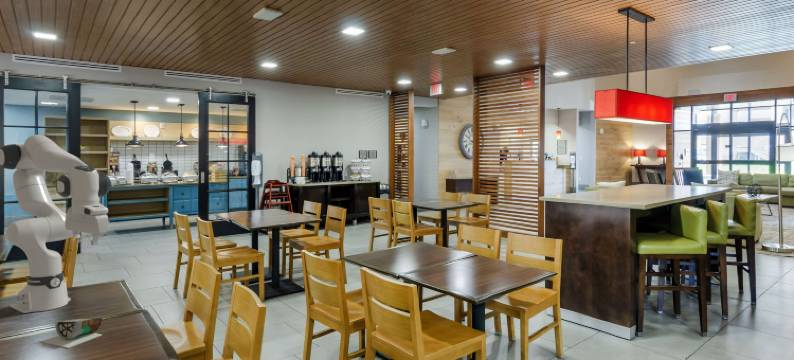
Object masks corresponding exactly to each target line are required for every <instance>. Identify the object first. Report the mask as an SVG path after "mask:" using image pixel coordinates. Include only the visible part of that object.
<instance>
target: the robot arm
mask: <svg viewBox="0 0 794 360" xmlns="http://www.w3.org/2000/svg"><path fill="white" fill-rule="evenodd" d="M0 167H1V168H2V169H6V170H15V171H14V172H13V175H12V182H13V188H14V193H15V196H16V198H17V203H18V205H19V208H20V210H22V211H23V212H24V213H26V214H29V215H32V216H35V217H32V218H30V217H29V218H23V219H20V220H15V221H12V222H10V223H9V224H8V226H7V227H6V230H5V236H6V239H7V241H9V243H10V244H12V245H14V246H16V247H18V248H20V250H22V251H23V253H24V254H25V255H26V257H27V262H28V269H29V275H28V276H27V277H26V280H27V282H26V285H25V286H24V287H23V288H22V289H21V290H20V291H19V292H18V293H17V296H16V302H14V303H12V304H10V308H11V309H14V310H16V311H18V312H20V313H22V314H27V313H33V312H44V311H51V310H55V309H58V308H62V307H64V306H66V305H68V303H69V302H70V301H71V297H69V296H68V288H67V283H66V282H64V272H63V269H62V268H63V266H62V256H61V254H60V253H59V252H58V251H55V250H52V249H48V248H47V246H46V243H49V242H50V243H51V242H57V241H63V240H66V239H69V238H73V237H74V242H75V243H78V244H79V243H82V242H83V237H81V233H84V234H90V235H91V234H92V240H90V244H91V245H92V246H97V245H99V240H100V238H101V235H104V234H105V235H106V234H107V233H108V231H109V216H108V215H107V214H108V213H109V208H108V207H106V206H105V205H103V204H102V203H101V202H100V198H101V197H102V198H103V197H105V196H106V195H108V193H109V192H110V191H111V189H112V180H111V179H110V177H109V176H108V175H107V174H106V173H104V172H102V171H99V170H98V169H96V168H95V167H94V166H91V164H89V163H88V162H86V161H85V160H83V159H82V158H80V157H78V156H77V155H74V154H71V153H70V152H68V151H66V150H64V149H63V148H61V147H60V146H59V145H58V144H57V143H56V142H54V141H53V140H52V139H50V138H49V137H48V136H45V135H42V134H34V135H31V136H28V138H26V139H25V141H24V143H21V144H19V143H18V144H16V143H14V144H7V145H5V144H4V145H3V146H1V147H0ZM44 172H46V173H65V174H61V175H60V176H59V177H58V178H57V179H56V182H55V189H56V193H57V194H58V195H59V196H60V197H62V198H64V199H71V206H69V207H68V209H67V212H66V213H65V212H64V211H63V210H61V209H60V208H59V207H58V206H57V205H56V204H55V203H54V201H53V200H52V198H51V195H50V193H49V189H48V187H47V184H46V181H45V179H44V175H43V174H44Z"/></svg>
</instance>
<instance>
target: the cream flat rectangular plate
mask: <svg viewBox="0 0 794 360" xmlns="http://www.w3.org/2000/svg"><path fill="white" fill-rule="evenodd" d="M102 336H103V334H102V333H101V334H100V333H97V332H90V333H86V334H82V335H78V336H76V337H75V338H73V339H65V338H62V337H60V336H59V335H58V334H57V335H56V336H52V337H49V338H47V339H44V340H41V343H45V344H49V345H53V346H57V347H61V348H66V349H70V348H74V347H76V346H78V345H80V344H83V343H87V342H88V341H91V340H94V339H98V338H99V337H102Z"/></svg>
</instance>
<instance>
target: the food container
mask: <svg viewBox="0 0 794 360" xmlns="http://www.w3.org/2000/svg"><path fill="white" fill-rule="evenodd" d="M102 321H103V318H102V317H83V318H76V319H68V320H60V321H59V320H58V321H54V325H55V326H54V327H55V331H56V333H57V336H58V335H59V336H60V337H62V338H65V339H73V338H75V337H76V336H78V335H82V334H86V333H90V332H92V333H95V332H96V331H97V330H99V328H100V327H101V325H102Z"/></svg>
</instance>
